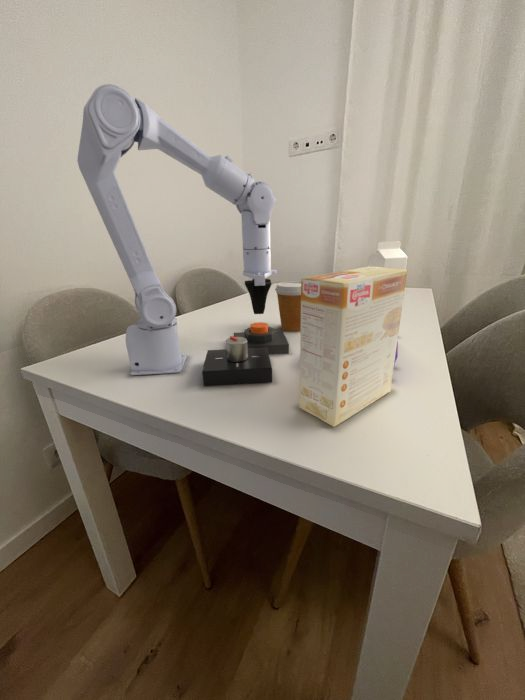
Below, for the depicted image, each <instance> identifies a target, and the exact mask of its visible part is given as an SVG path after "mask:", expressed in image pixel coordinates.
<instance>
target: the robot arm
mask: <svg viewBox="0 0 525 700" xmlns="http://www.w3.org/2000/svg"><path fill="white" fill-rule="evenodd" d="M135 143H137V150H138V151H148V150H149V151H151V150H158V151H159V152H162V153H163V154H166V155H167V156H169V157H170V158H172V159H174V160H175V161H177V162H178V163H181V164H182V165H184V166H185V167H187V168H189V169H191V170H192V171H194V172H196V173H197V174H199V175H201V177H202V180H203V183H204V186H205V187H206V188H207V189H209V190H211V191H212V192H214V193H215V194H217V195H218V196H220V197H221V198H223V199H225V200H226V201H228V202H229V203H231V204H232V205H234V206H235V207H236V209H237V211H238V212H239V214H241V215H240V216H241V236H242V239H241V241H242V260H243V261H242V262H243V271H242V275H243V276H244V277H247V278H250V279H251V280H244V286H245V288H246V290H247V292H248V295H249V299H250V301H251V307H252V312H253V314H254V315H264V314H265V309H266V302H267V298H268V294H269V291H270V289H271V287H272V281H271V279H270V278H268V277H270V276H272V275H277V271H278V270H276V269H272V255H271V254H272V252H271V251H272V250H271V249H272V248H271V245H272V244H271V215H272V212H273V210H274V208H275V205H276V201H277V198H276V197H274V193H273V190H272V188H271V186H270V185H269V184H268V183H266V182H264V181H262V180H261V181H258V180H257V181H255V176H254V175H253V174H251V173H248V174H247V173H246V172H245V171H243V169H241V168H240V167H238V166H237V165H235V164H234V163H233V162H234V159H233V158H232V157H230V156H229V155H226V156H223V155H222V154H217V155H214V156H210V155H209V154H208V153H206V152H205V151H204V150H203V149H201V148H200V147H199V146H197V145H196V144H195V143H194V142H192V140H190V139H189V138H188V137H186V136H185V135H183V134H182V133H181V132H179V130H177V129H176V128H175V127H174V126H172V125H171V124H169V123H168V122H167V121H166V120H165V119H163V117H160V116H159V115H158V114H157V113H156V112H155V111H154V110H153V109H152V108H151V107H150V106H149V105H148V104H146V103H145V102H144V101H142V100H141V99H139V98H137V97H135V98H133V96H132V95H130V93H129V92H128V91H127V90H125V89H124V88H123V87H120V86H118V85H115V84H113V83H106V84H101V85H100V86H98V87H96V88H95V89H94V90H93V92H92V93H91V95H90V97H89V98H88V100H87V102H86V103H85V104H84V106H83V112H82V124H81V132H80V139H79V144H78V145H79V146H78V153H77V159H76V161H77V165H78V168H79V171H80V174H81V176H82V178H83V181H84V182H85V185H86V186H87V189H88V191H89V193H90V196H91V197H92V199H93V202H94V205H95V207H96V209H97V211H98V213H99V215H100V217H101V220H102V222H103V224H104V226H105V229H106V231H107V234H108V235H109V237H110V239H111V241H112V244H113V246H114V248H115V251H116V252H117V255H118V257H119V259H120V262H121V264H122V266H123V269H124V270H125V273H126V276H127V277H128V279H129V282H130V284H131V286H132V289H133V291H134V305H135V308H136V309H137V311H138V313H139V316H140V318H139V319H138V321H137V322H136V323H137V324H131V325H129V326H128V327H126V331H125V345H126V350H127V356H128V360H129V365H130V370H131V371H130V376H143V375H161V374H177V373H178V374H179V373H181V372H182V371H183V368H184V366H185V364H186V360H187V358H188V356H187V355H186V354H182V349H181V342H180V334H179V327H178V326H179V325H178V320H177V318H176V316H177V305H176V303H175V301H174V299H173V298H172V297H171V296H170V295H168V294H167V293H166V291H165V290H164V287H163V285H162V283H161V281H160V279H159V276H158V275H157V273H156V272H155V269H154V267H153V264H152V261H151V259H150V257H149V254H148V252H147V250H146V247H145V245H144V242H143V239H142V237H141V235H140V233H139V232H140V231H139V229H138V228H137V225H136V222H135V220H134V218H133V215H132V213H131V210H130V208H129V206H128V205H129V204H128V203H127V200H126V197H125V196H124V193H123V191H122V188H121V185H120V183H119V181H118V178H117V176H116V173H115V172H116V169H117V167H118V165H119V163H120V161H121V158H123V156H124V155H126V154H127V153H128V152H129V151H130V150H131V149H132V148H133V146H134V144H135Z"/></svg>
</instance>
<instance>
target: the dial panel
mask: <svg viewBox="0 0 525 700" xmlns="http://www.w3.org/2000/svg"><path fill="white" fill-rule="evenodd" d="M205 355H206V356H205V360H204V362H203V367H202V371H201V372H202V382H203V387H205V388H206V387H222V386H239V385H253V384H254V385H255V384H258V385H259V384H271V383H273V366H272V362H271V359H270V355H269V354H268V350H267V347H260V348H248V358H247V359H246V360H244V361H241V362H231V361H228V360H227V357H226V348H225V349H224V348H223V349H207V351H206V354H205Z"/></svg>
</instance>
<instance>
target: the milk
mask: <svg viewBox="0 0 525 700" xmlns="http://www.w3.org/2000/svg"><path fill="white" fill-rule="evenodd" d="M401 246H402V243H401V241H399V240H397V241H379V242H378V243H377V247H376V248H377V249H376V250H375V251H374V252H372V253H371V254H370V255H369V256H368V261H367V262H368V264H367V267H380V268H388V269H399V270H407V267H408V265H407V264H408V258H409V257H408V255H407V254H406V252H404V251H403V250H402V249H401Z"/></svg>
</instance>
